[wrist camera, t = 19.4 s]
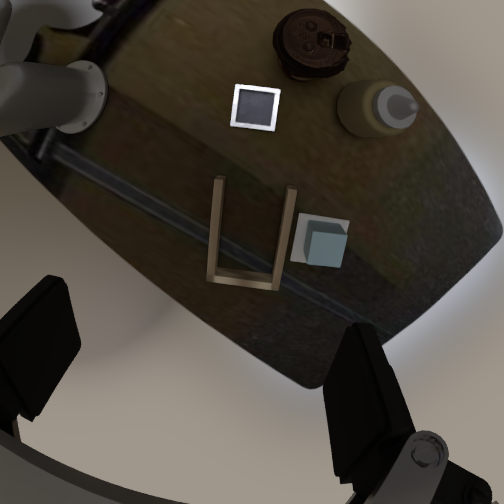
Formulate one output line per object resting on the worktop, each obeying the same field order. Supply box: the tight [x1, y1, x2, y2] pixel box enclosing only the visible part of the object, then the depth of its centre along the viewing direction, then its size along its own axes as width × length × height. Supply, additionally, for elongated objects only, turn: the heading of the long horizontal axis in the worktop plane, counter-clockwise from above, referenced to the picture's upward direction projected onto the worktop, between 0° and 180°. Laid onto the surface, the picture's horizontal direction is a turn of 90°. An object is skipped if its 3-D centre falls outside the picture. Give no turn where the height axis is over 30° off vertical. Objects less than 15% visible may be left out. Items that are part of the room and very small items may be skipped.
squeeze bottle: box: [337, 80, 419, 138], centre depth 29 cm, size 8×8×18 cm
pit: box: [230, 84, 280, 131], centre depth 37 cm, size 6×6×2 cm
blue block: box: [303, 220, 348, 267], centre depth 43 cm, size 5×5×5 cm
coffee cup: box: [273, 9, 352, 82], centre depth 29 cm, size 9×8×13 cm
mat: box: [290, 213, 349, 263], centre depth 46 cm, size 8×8×1 cm
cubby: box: [206, 175, 297, 291], centre depth 45 cm, size 11×16×3 cm
